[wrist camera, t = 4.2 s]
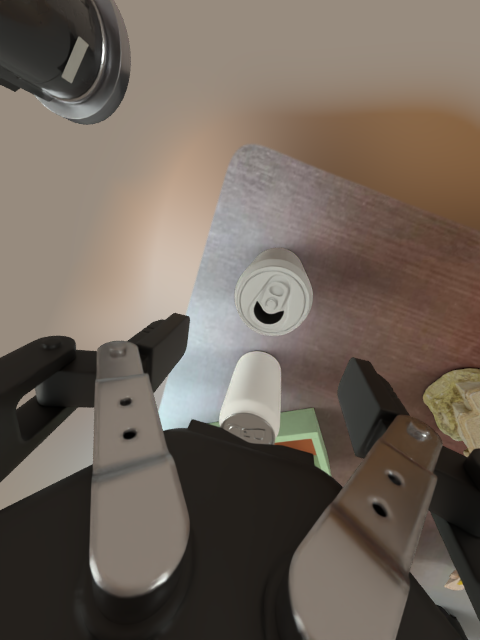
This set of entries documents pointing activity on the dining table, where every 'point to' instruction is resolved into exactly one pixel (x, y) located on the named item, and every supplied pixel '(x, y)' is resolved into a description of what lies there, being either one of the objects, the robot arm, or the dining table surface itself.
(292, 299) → the beverage can
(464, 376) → the ceramic model
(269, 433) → the can
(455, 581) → the decorative flower
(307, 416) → the cup holder
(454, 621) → the portable speaker
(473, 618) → the dining table surface
